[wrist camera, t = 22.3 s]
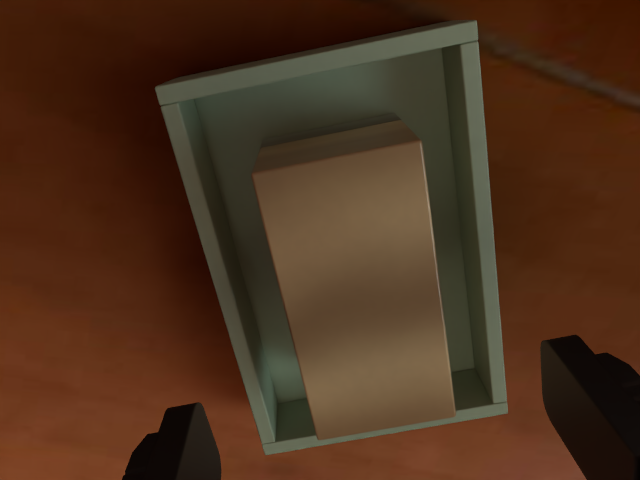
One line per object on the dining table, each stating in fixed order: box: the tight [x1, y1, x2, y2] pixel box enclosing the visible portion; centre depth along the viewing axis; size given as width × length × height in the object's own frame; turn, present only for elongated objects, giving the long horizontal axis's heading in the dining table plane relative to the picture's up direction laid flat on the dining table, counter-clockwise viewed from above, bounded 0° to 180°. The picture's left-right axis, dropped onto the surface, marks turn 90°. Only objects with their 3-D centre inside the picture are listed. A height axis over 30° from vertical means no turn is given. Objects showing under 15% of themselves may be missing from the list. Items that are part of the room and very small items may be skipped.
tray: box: [155, 20, 508, 455], centre depth 21 cm, size 15×10×3 cm
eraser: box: [251, 113, 456, 440], centre depth 20 cm, size 10×5×5 cm, turn 11°
